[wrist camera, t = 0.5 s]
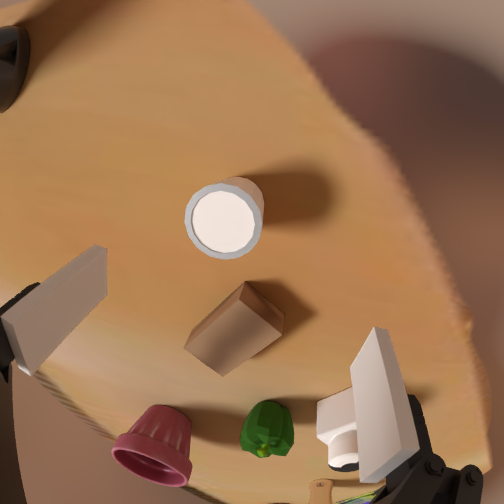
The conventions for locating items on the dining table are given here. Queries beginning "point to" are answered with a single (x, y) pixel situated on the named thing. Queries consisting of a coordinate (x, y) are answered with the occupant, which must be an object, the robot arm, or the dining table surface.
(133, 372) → the dining table surface
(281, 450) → the bell pepper
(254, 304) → the walnut base block
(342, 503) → the dish towel
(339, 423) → the medicine bottle
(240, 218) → the white cup
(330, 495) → the beer glass
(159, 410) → the plant pot
